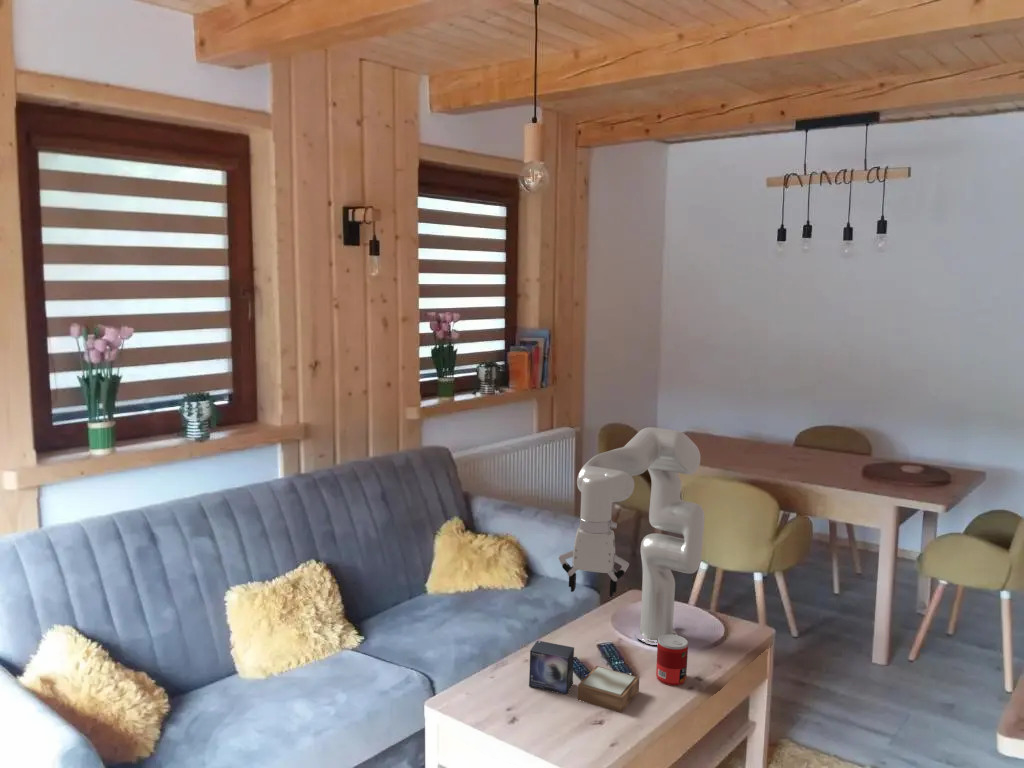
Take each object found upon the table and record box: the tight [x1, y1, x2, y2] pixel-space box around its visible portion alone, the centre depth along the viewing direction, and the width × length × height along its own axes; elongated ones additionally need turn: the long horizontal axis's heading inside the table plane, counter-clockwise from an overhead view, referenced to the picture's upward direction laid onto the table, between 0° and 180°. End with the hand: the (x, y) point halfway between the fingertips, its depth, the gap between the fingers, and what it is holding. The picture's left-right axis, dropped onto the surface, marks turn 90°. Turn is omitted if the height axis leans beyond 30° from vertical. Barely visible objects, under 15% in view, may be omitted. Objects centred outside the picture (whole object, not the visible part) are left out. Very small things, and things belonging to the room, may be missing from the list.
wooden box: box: [576, 665, 640, 714], centre depth 216 cm, size 12×12×4 cm
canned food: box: [655, 634, 689, 687], centre depth 225 cm, size 8×8×11 cm
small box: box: [528, 640, 575, 695], centre depth 221 cm, size 11×6×10 cm, turn 70°
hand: (592, 592), depth 209 cm, fingers open, 9 cm apart
